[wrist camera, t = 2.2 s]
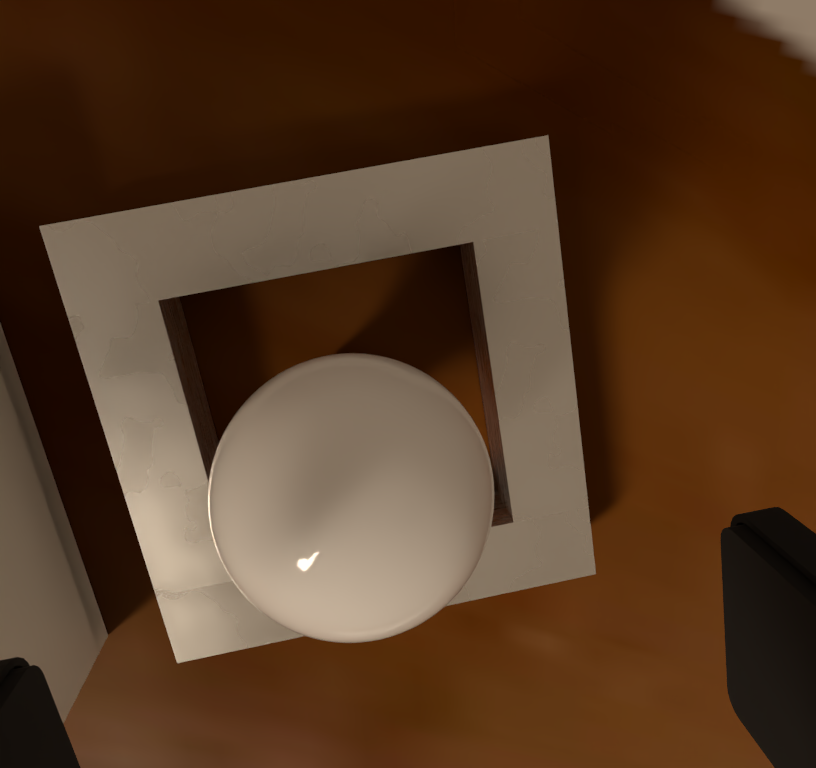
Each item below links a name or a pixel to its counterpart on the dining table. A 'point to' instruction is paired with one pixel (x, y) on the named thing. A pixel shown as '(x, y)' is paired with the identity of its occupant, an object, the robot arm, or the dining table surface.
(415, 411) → the lightbulb
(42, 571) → the bin
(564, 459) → the socket collar
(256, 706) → the dining table surface
